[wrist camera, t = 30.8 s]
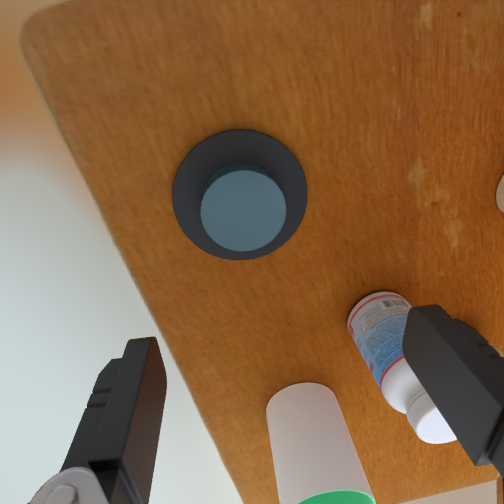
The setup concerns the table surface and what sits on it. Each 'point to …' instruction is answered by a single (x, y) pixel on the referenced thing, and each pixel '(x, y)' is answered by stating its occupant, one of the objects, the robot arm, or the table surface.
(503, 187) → the jar
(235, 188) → the lid
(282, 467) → the mug
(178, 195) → the coaster
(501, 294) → the table surface
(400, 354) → the pill bottle
